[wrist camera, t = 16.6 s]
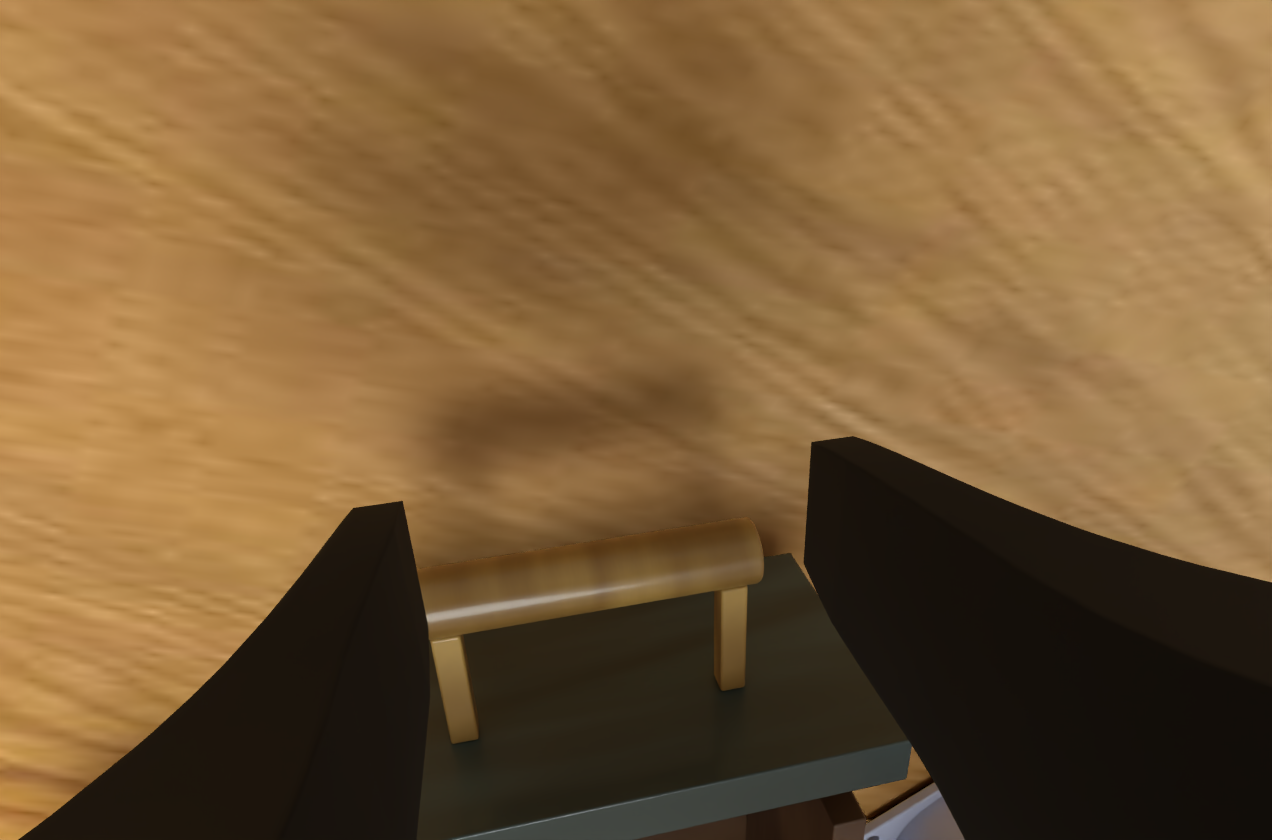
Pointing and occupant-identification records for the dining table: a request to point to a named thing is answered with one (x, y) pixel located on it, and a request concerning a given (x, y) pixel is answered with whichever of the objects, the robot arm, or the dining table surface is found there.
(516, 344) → the dining table surface
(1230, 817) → the robot arm
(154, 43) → the dining table surface
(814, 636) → the drawer
